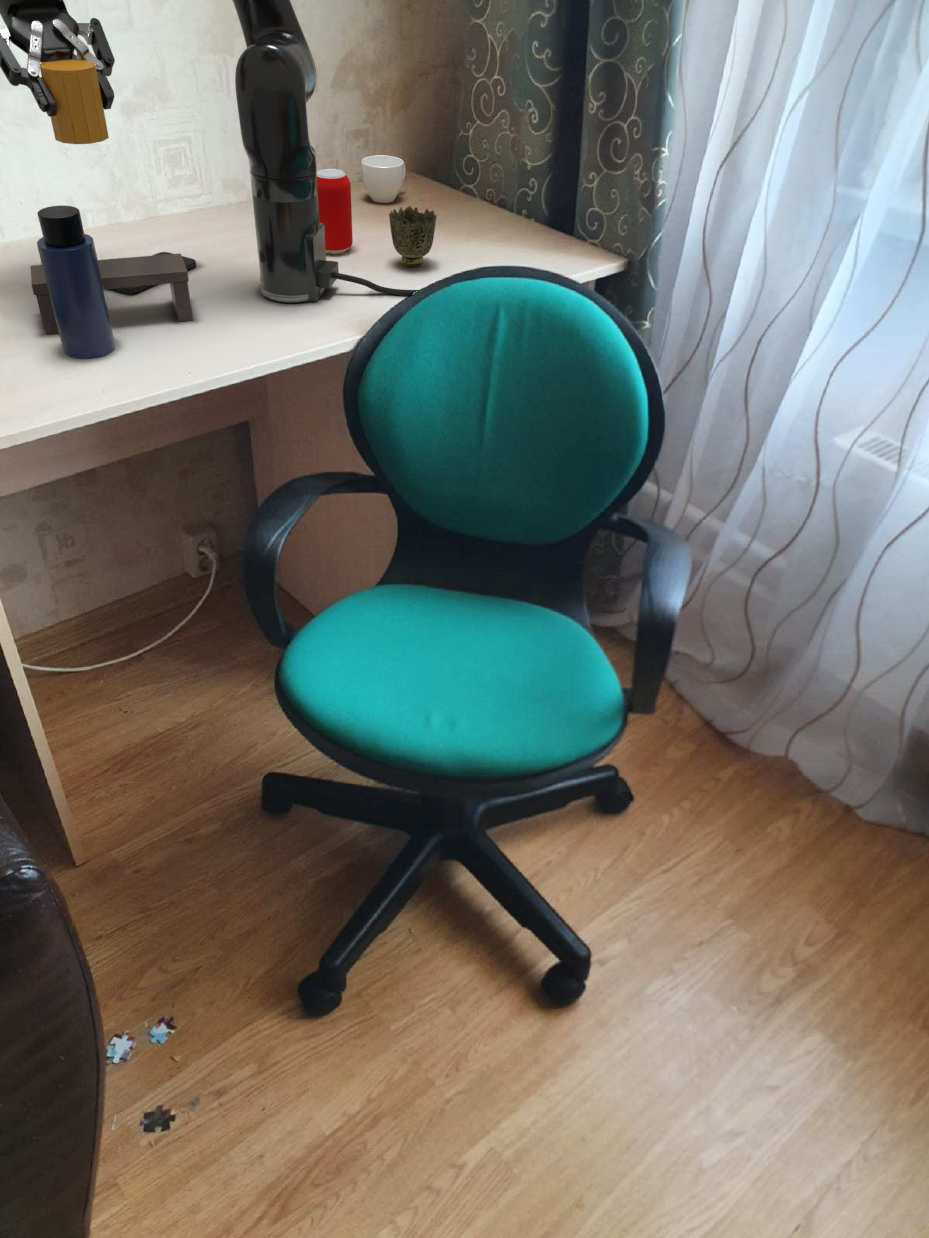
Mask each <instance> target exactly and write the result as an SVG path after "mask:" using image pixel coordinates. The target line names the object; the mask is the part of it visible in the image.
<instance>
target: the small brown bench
mask: <svg viewBox="0 0 929 1238" xmlns="http://www.w3.org/2000/svg"><path fill="white" fill-rule="evenodd" d="M153 255H154V256H152V255H144V256H132V257H119V258H117V257H116V258H107V259H98V264H99V269H100V274H101V279H102V283H103V288H104V290H109V289H112V288H123V287H134V286H145V285H152V286H155V285H165V284H169V289H170V295H171V300H172V304H173V307H174V311H175V314H176V318H177V321H178V322H180V323H181V322H189V321H194V316H193V309H192V302H191V296H190V289H189V284H188V283H189V282H190V280H189V273H188V270H187V269H186V266H185V264H184V261H183V258H182V256H183V255H182V253H173V254H167V255H155V254H153ZM30 283H31V289H32V293H33V295H34V296H35V298H36V301H37V306H38V309H39V314H40V317H41V321H42V325H43V330H44V333H45V335H46V336H50V335H51V336H52V335H59V331H58V327H57V323H56V319H55V315H54V311H53V307H52V303H51V299H50V295H49V291H48V287H47V283H46V279H45V275H44V271H43V267H42V264H31V265H30ZM112 290H113V289H112Z"/></svg>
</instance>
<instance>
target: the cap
mask: <svg viewBox="0 0 929 1238" xmlns="http://www.w3.org/2000/svg"><path fill="white" fill-rule="evenodd" d="M39 71H40V75H41V77H43V79H44V80H45V82H46V85H47V87H48V89H49V91H50V93H51V95H52V97H53V99H54V101H55V103H56V106H57V110H56V114H55V116H50V122H51V125H52V130H53V136H54V139H55V141H57V142H59V143H61V144H69V145H92V144H96V143H101V142H104V141H106V140H108V139H109V138H110V137H109V131H108V125H107V120H106V113H105V109H104V108H103V103H102V98H101V92H100V87H99V81H98V76H97V70H96V66H95V63H93V62H91V61H86V60H78V59H60V60H51V61H46V62H43V63H41V62H40V69H39Z"/></svg>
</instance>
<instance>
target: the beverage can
mask: <svg viewBox="0 0 929 1238" xmlns="http://www.w3.org/2000/svg"><path fill="white" fill-rule="evenodd" d="M317 184H318V203H319V221H320V223H323V224H324V230H325V248H326V254H329V255H330V254H331V255H340V254H342V253H345V252H346V251H348V250H349V249H350V248H351V247H352V245H353V240H354V239H353V238H354V237H353V217H352V216H353V215H352V185H351V180H350V178H349V177H348V175H347V174H346V172H345V171H344V170H342V169H337V168H323V169H319V170H317Z"/></svg>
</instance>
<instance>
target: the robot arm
mask: <svg viewBox="0 0 929 1238" xmlns="http://www.w3.org/2000/svg"><path fill="white" fill-rule="evenodd" d="M231 1H232V4H233V6H234V9H235V11H236V15H237V19H238V21H239V25H240V29H241V31H242V35H243V38H244V42H245V46H246V48H245V49H244V50H243V51H242V53H241V54H240V55H239V58H238V60H237V63H236V66H235V72H234V78H235V79H234V86H235V97H236V98H235V99H236V106H237V113H238V120H239V127H240V128H239V129H240V135H241V142H242V146H243V150H244V152H245V154H246V157H247V159H248V167H249V176H250V177H249V178H250V186H251V196H252V207H253V217H254V227H255V236H256V238H255V239H256V247H257V255H258V257H257V259H258V267H259V279H260V292H261V295H262V296H263V297H265V298H266V299H269V300H271V301H275V302H279V303H290V304H291V303H304V302H317V301H318V300H319V299H320V297H322V295H323V294H324V292H325V291H326V290H327V289H331V288H332V286H333V285H334V283H336V281H337V280H340V281H345V282H349V283H353V284H357V285H361V286H364V287H367V288H368V289H371V290H373V291H375V292H378V293H381V294H386V295H390V296H391V295H392V296H400V297H401V296H403V297H412V296H411V295H412V294H413V293H414V292H416V291H419V290H420V289H402V288H401V289H400V288H392V287H386V286H381V285H378V284H376V283H374V282H373V281H370V280H368V279H365V278H362V277H357V276H355V275H350V274H346V273H342V272H341V273H340V272H339V261H334V260H327V253H326V248H325V230H324V224H323V223H320V221H319V203H318V184H317V171H318V170H317V168H318V167H317V154H316V150H315V148H314V146H312V145H311V141H310V135H309V124H308V112H307V111H308V109H307V103H308V102H309V101H310V99H311V98H312V96H313V94H314V93H315V89H316V86H317V85H316V84H317V68H316V63H315V60H314V57H313V54H312V51H311V49H310V46H309V44H308V41H307V39H306V37H305V34H304V31H303V28H302V25H301V23H300V22H299V20H298V17H297V14H296V12H295V9H294V7H293V4H292V1H291V0H231ZM0 16H1V19H2V20H3V22H4V24H5V26H6V28H2V29H0V69H1V71H2V73H3V74H4V76H5V78H6V79H7V81H8V83H9V84H10V85H12V86H13V87H18V86H20V85H21V86H26V87H27V88H28V89H29V90H30V92H31V94H32V95H33V98H34V100H35V102H36V104H37V107H38V108H39V110H41V112H43V113H46V115H47V117H50V116H55V114H56V110H57V106H56V103H55V101H54V99H53V97H52V95H51V93H50V91H49V89H48V87H47V85H46V82H45V80H44V79H43V77H42V76H40V64H41V63H43V62H46V61H51V60H60V59H78V60H86V61H91V62H93V63H95V66H96V70H97V76H98V81H99V87H100V92H101V98H102V103H103V108H104V111H106V110H111V109H112V106H113V104H114V100H115V91H114V90H113V88H112V85H111V83H110V81H109V79H108V77H111V75H112V73H113V67H114V65H115V62H116V59H115V56H114V53H113V51H112V49H111V47H110V44H109V41H108V39H107V36H106V33H105V31H104V28H103V26H102V23H101V21H100V20H99V19H98V18H96V17H92V18H90V20H89V22H77V21H76V19H75V18H73V17H72V16H71V14H70V13H69V11H68V9H67V6H66V3H65V1H64V0H0ZM79 36H81V37H82V38H83V39H84V41H85V42H86V43H84V41H82V40H81V39H80V38H79ZM11 44H13V45H14V46H16V47H17V48H19V50H21V51H22V52H24V53H25V54H26V55H27V62H26V67H22V66H21V65H20V63H19V61H18V60H17V58H16V56H15V55H14V53H13V51H12V50H11V47H10V45H11ZM88 46H91V49H92V51H93V53H92V52H91V51H90V48H89V47H88ZM75 52H76V54H75ZM50 118H51V117H50Z"/></svg>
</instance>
